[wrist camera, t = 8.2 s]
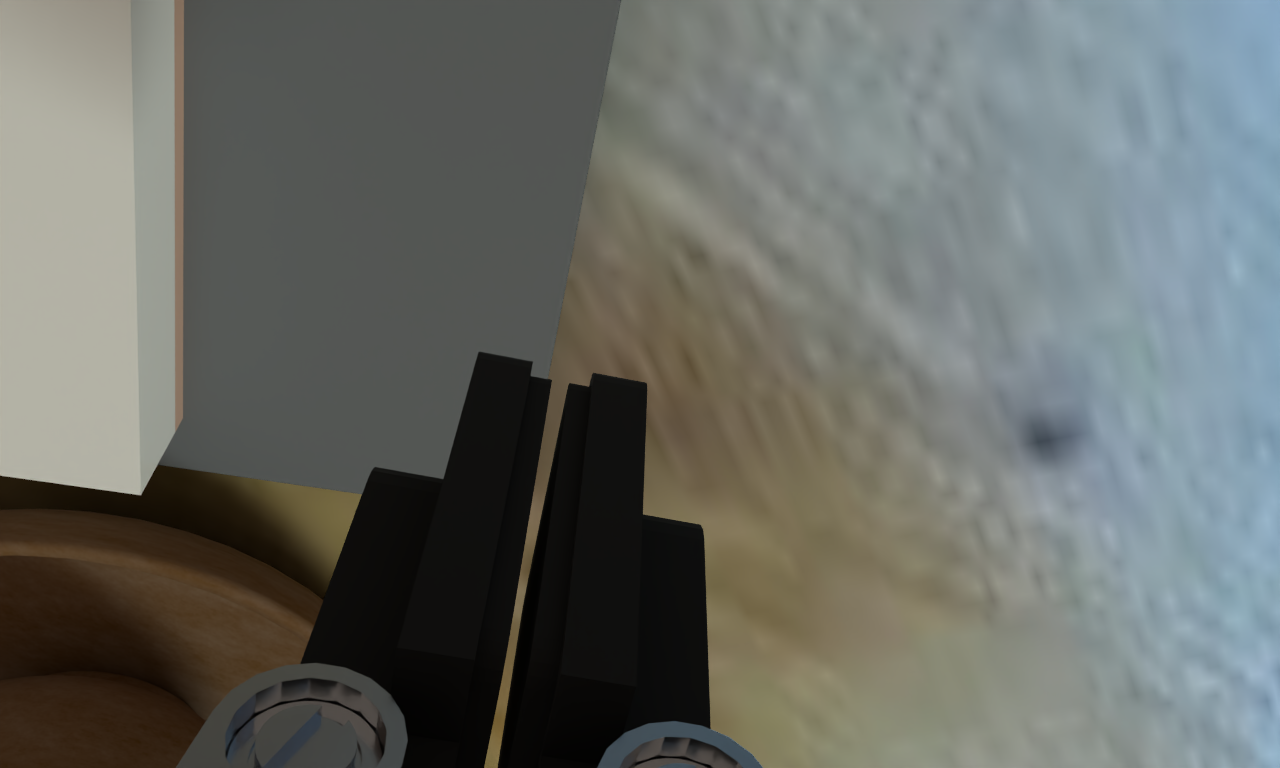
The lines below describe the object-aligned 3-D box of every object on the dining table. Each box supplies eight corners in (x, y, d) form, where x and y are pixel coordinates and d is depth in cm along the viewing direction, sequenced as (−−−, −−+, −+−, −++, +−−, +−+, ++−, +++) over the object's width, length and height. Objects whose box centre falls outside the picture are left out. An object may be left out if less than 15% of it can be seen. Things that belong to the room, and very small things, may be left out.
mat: (-568, -375, 13) (-615, -376, 13) (640, -114, 15) (641, -105, 15) (-360, 366, 19) (-387, 386, 18) (523, 495, 20) (520, 517, 20)
